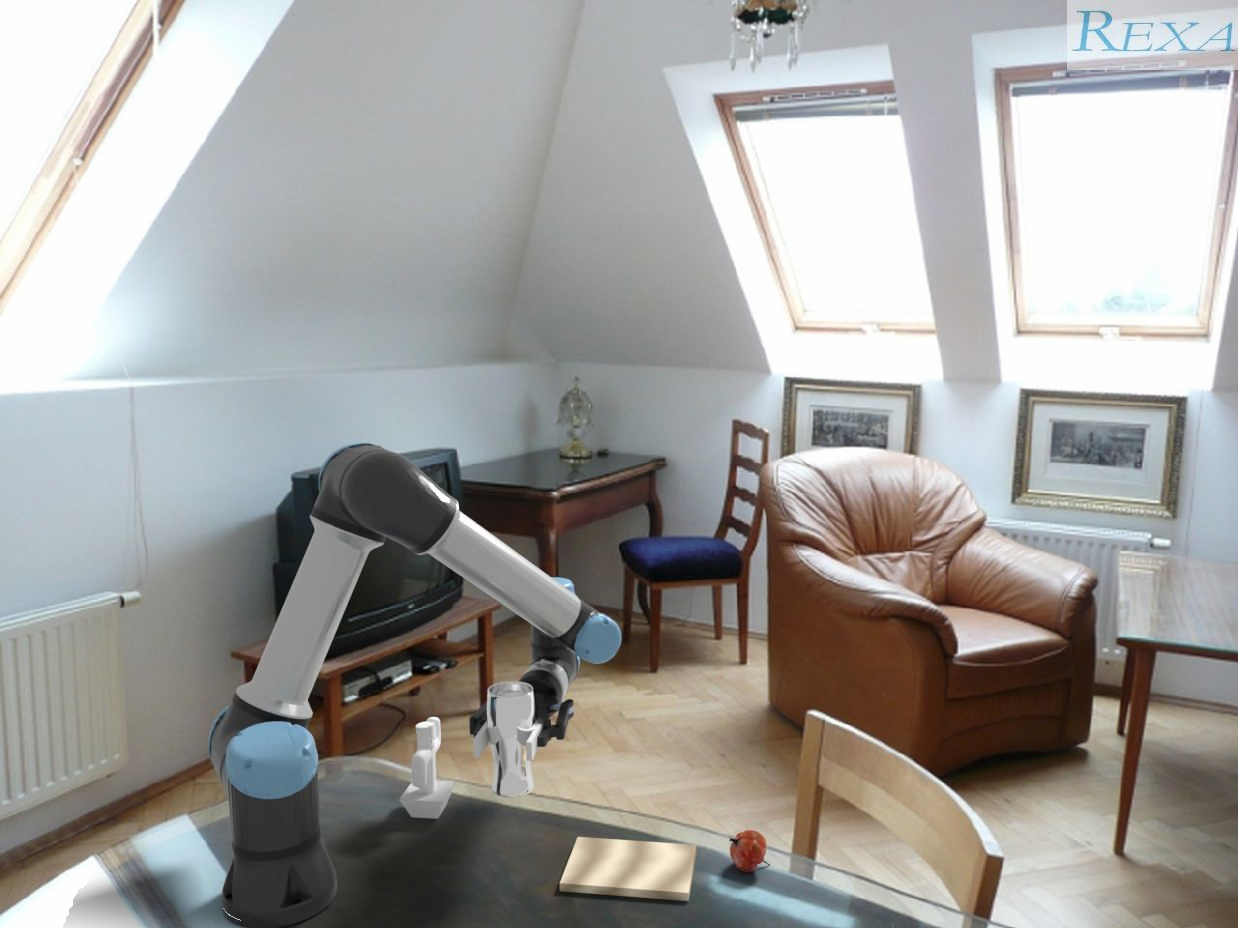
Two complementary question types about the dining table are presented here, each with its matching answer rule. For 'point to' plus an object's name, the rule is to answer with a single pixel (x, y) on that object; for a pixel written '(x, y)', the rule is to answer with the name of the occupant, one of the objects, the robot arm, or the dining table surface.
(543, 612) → the robot arm
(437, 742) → the figurine
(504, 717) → the beer glass
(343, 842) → the dining table surface
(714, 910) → the dining table surface
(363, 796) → the dining table surface
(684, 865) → the birch board
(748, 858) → the pomegranate
